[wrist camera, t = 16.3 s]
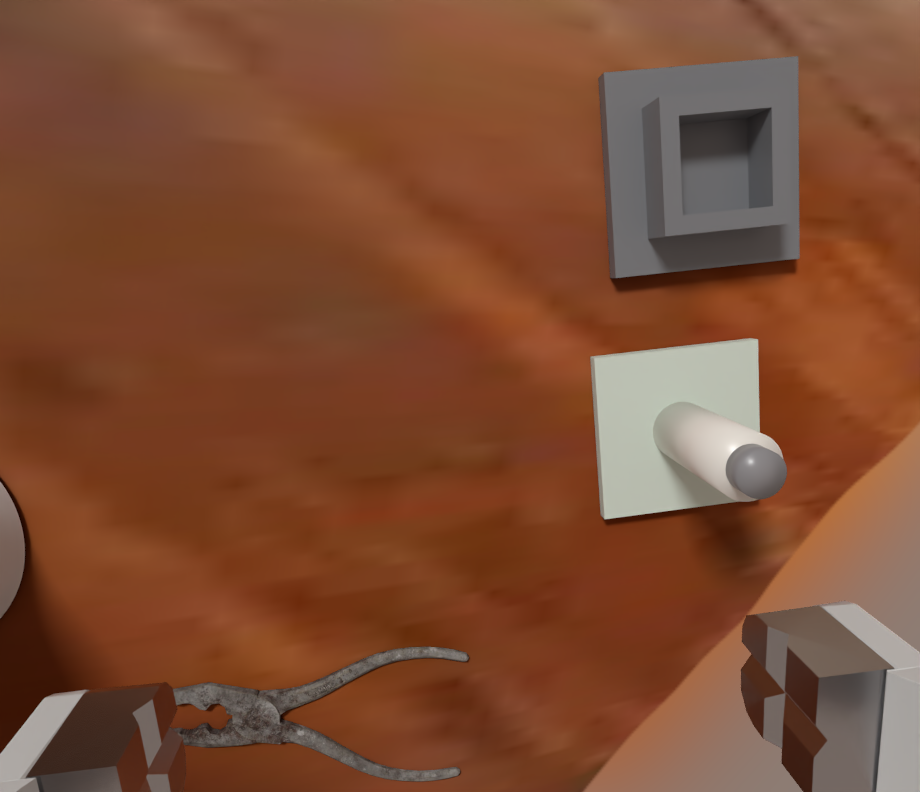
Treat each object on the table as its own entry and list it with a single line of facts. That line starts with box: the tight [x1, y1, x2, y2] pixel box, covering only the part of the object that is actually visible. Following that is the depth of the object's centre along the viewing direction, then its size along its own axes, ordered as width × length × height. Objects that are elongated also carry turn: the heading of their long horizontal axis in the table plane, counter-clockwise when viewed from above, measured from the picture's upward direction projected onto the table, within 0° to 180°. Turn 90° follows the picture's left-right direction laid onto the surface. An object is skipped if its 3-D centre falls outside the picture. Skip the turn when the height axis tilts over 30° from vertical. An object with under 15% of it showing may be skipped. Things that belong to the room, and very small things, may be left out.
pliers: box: [173, 647, 469, 781], centre depth 43 cm, size 10×1×20 cm
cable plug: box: [653, 402, 787, 502], centre depth 36 cm, size 4×4×9 cm
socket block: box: [599, 56, 799, 278], centre depth 37 cm, size 11×11×4 cm
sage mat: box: [590, 338, 760, 519], centre depth 41 cm, size 10×10×1 cm
